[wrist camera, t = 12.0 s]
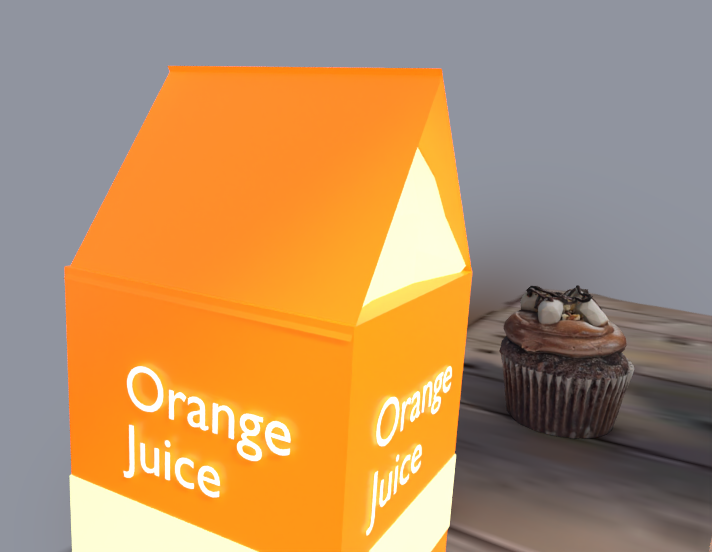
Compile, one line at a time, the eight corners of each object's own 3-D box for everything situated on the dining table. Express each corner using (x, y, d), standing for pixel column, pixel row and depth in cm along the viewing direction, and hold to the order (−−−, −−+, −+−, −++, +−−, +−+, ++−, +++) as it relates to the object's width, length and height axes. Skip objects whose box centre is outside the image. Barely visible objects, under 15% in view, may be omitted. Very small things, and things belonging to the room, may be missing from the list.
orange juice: (320, 893, 17) (371, 45, 12) (74, 730, 21) (49, 47, 16) (436, 678, 23) (495, 84, 19) (234, 587, 27) (246, 79, 23)
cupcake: (535, 449, 46) (553, 308, 44) (474, 395, 55) (486, 276, 53) (653, 439, 48) (675, 306, 46) (576, 389, 58) (592, 275, 55)
